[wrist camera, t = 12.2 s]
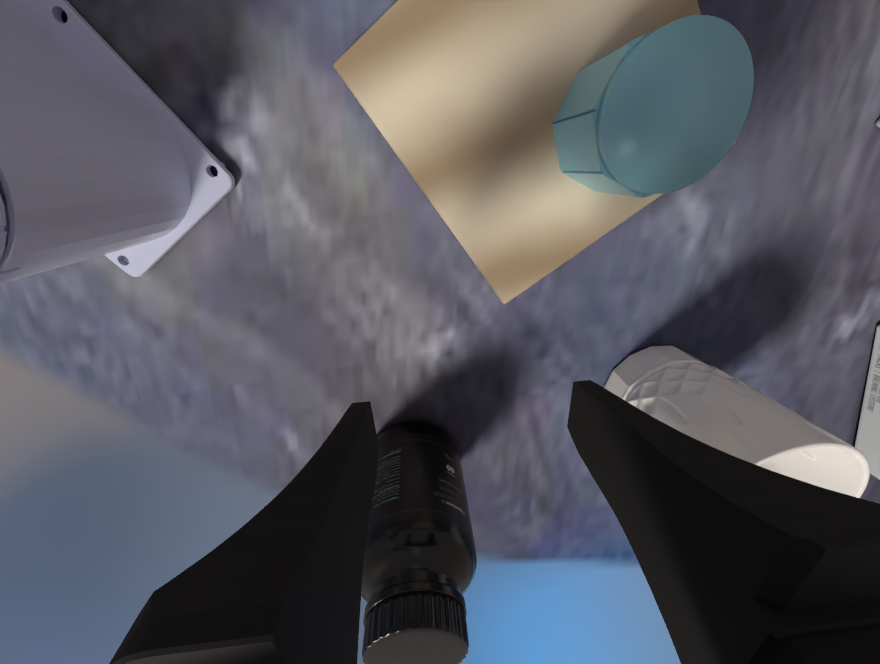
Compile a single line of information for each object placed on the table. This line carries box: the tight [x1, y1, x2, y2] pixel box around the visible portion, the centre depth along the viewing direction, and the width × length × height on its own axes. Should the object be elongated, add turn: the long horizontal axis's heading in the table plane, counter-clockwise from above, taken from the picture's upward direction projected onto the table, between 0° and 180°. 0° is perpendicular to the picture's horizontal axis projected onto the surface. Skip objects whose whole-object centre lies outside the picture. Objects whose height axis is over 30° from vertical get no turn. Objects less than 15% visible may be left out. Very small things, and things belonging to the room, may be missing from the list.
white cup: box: [604, 346, 870, 498], centre depth 20 cm, size 8×8×10 cm
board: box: [333, 0, 737, 304], centre depth 16 cm, size 14×14×1 cm
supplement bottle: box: [361, 421, 477, 664], centre depth 21 cm, size 7×7×12 cm
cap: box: [552, 15, 754, 198], centre depth 14 cm, size 5×5×5 cm
